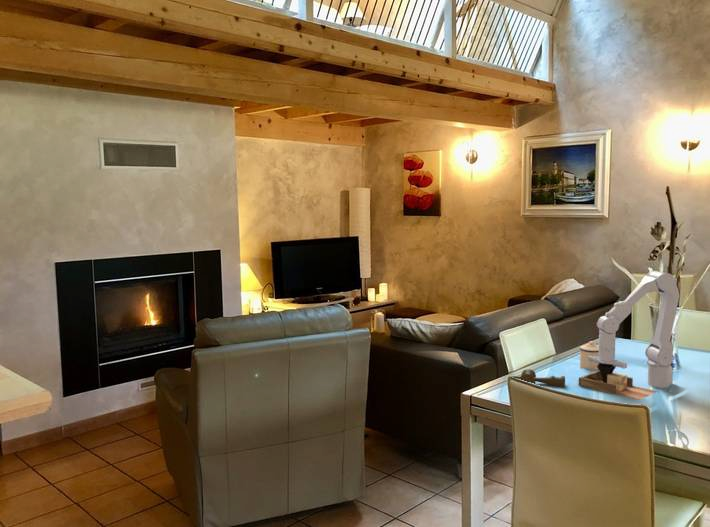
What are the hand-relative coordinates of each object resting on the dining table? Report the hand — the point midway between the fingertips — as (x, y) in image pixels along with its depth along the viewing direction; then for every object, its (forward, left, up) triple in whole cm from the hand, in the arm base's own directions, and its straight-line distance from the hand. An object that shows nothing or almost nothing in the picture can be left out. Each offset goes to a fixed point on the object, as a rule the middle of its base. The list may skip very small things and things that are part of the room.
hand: (606, 383), depth 223 cm
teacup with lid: (-22, -18, -2) cm, 29 cm away
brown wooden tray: (0, +4, -2) cm, 5 cm away
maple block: (0, +4, -1) cm, 4 cm away
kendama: (+16, -19, -2) cm, 25 cm away
